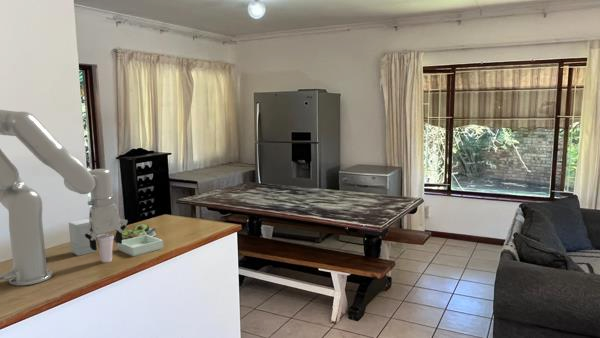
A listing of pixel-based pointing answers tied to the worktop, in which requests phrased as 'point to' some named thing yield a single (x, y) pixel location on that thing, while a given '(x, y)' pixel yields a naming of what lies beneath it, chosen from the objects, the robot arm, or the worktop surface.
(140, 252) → the bin
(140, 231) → the avocado toast plate
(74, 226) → the supplement box
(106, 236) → the smoothie
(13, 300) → the worktop surface
